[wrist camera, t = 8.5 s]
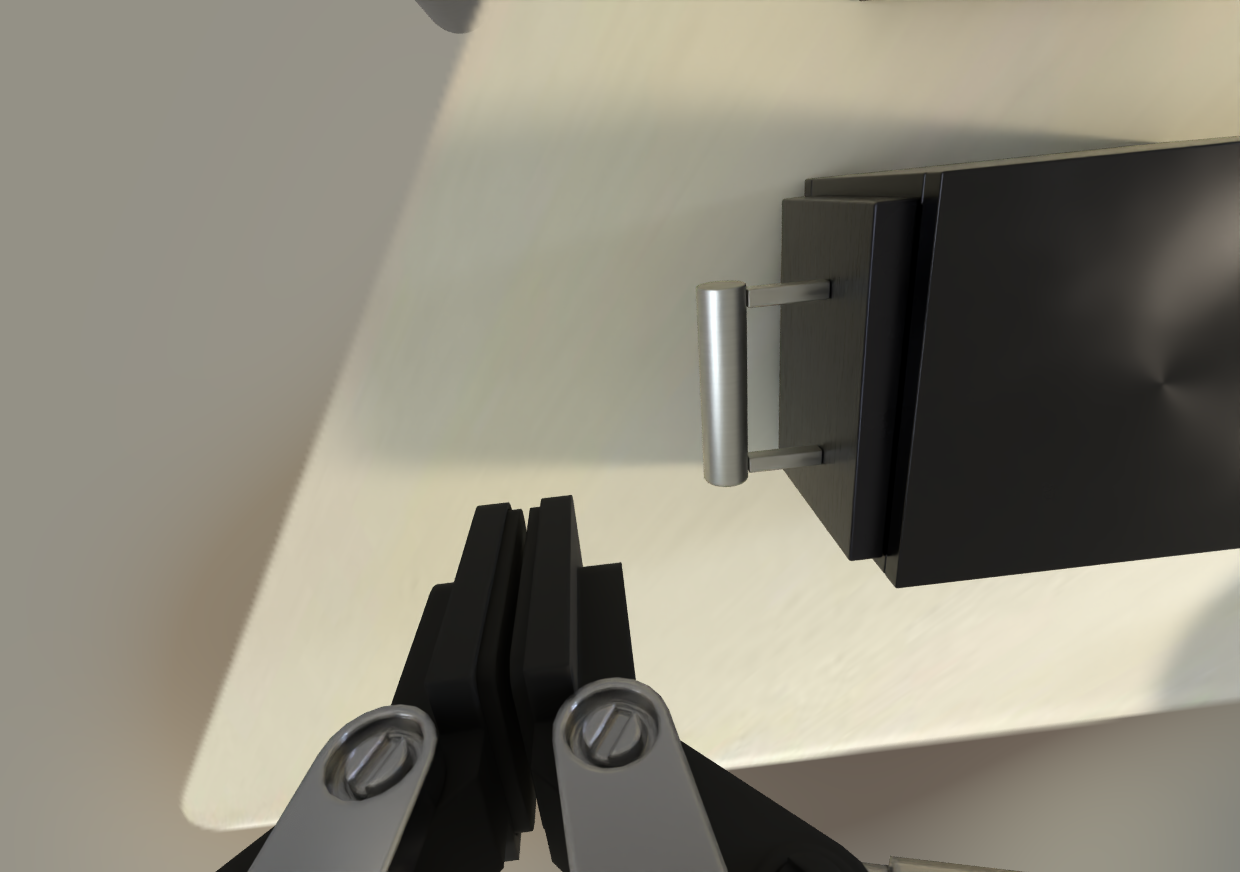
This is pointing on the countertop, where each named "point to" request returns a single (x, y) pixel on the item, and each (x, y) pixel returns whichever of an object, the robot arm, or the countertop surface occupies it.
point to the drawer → (821, 361)
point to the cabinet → (1067, 361)
